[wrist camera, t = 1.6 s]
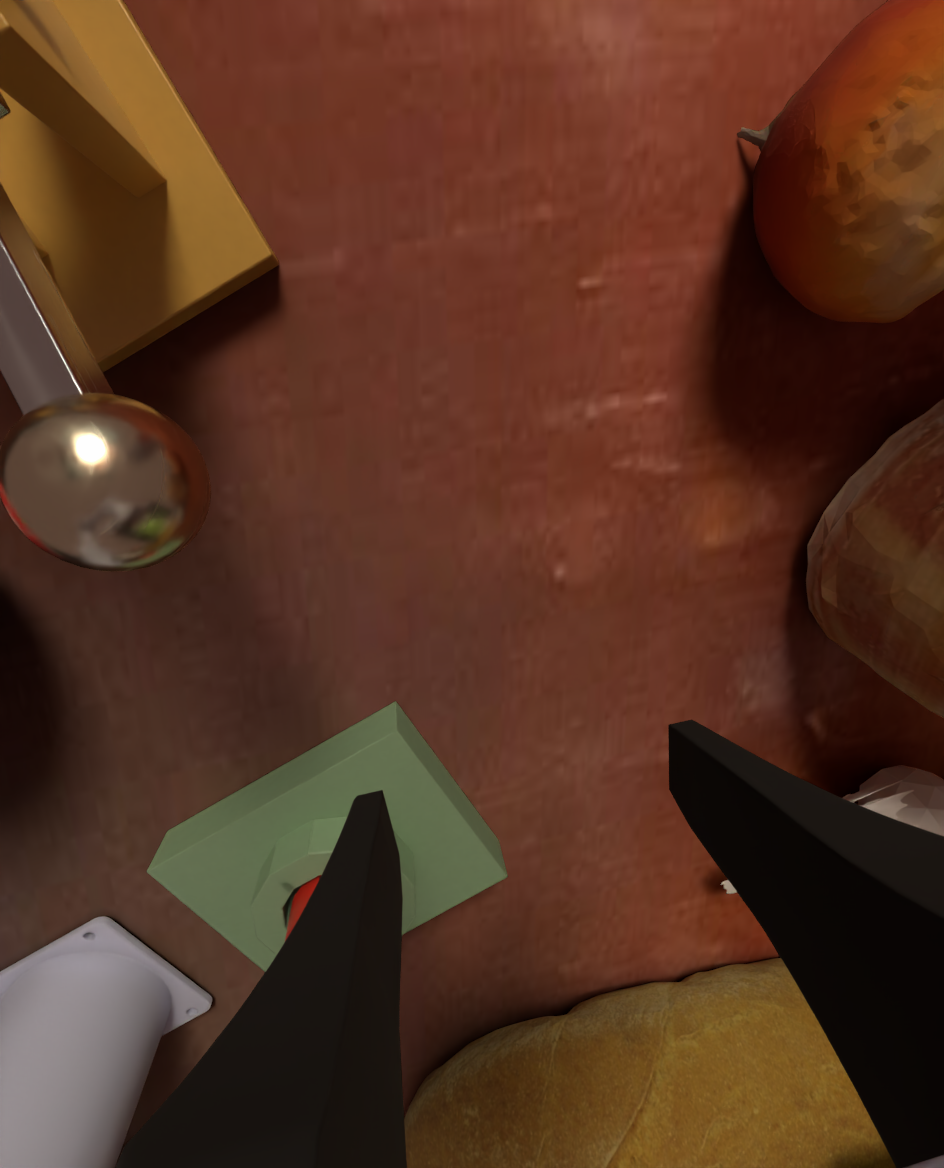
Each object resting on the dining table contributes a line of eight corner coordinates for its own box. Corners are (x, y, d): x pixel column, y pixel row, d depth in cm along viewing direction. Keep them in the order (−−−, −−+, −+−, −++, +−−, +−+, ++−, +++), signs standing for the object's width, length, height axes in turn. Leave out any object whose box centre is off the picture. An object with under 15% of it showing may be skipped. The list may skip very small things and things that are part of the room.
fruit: (922, -97, 15) (1294, -138, 10) (855, 200, 21) (1066, 262, 16) (678, 60, 15) (925, 92, 11) (684, 307, 22) (840, 398, 17)
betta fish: (920, 695, 25) (676, 808, 27) (1024, 783, 21) (729, 907, 23) (917, 800, 32) (723, 884, 34) (994, 880, 28) (769, 969, 30)
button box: (299, 950, 27) (285, 1038, 23) (167, 830, 23) (125, 912, 20) (499, 840, 27) (517, 912, 23) (395, 700, 23) (397, 759, 19)
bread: (387, 1008, 29) (387, 1293, 20) (927, 908, 34) (1131, 1101, 25) (409, 1183, 36) (417, 1462, 26) (862, 1079, 40) (1005, 1284, 31)
